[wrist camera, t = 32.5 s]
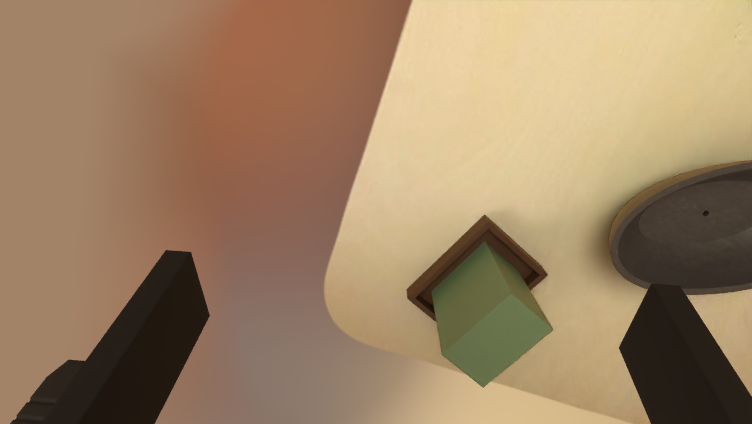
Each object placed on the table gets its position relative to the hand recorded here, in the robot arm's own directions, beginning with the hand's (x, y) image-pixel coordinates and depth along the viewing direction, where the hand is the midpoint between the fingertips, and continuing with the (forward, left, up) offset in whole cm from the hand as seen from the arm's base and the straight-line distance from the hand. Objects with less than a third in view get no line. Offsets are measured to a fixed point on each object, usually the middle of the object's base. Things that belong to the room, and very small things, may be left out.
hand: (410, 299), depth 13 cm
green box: (+3, -18, -31) cm, 36 cm away
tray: (+3, -18, -32) cm, 37 cm away
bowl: (+26, -16, -32) cm, 45 cm away
